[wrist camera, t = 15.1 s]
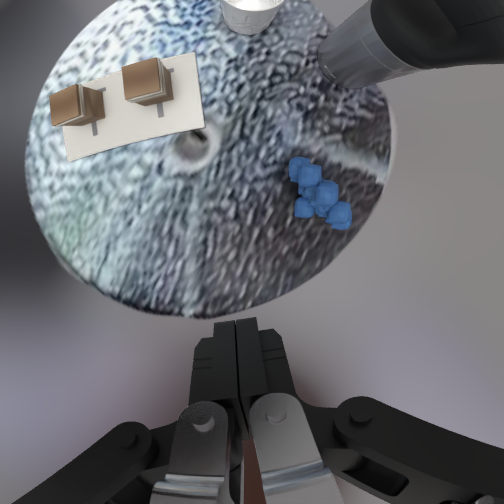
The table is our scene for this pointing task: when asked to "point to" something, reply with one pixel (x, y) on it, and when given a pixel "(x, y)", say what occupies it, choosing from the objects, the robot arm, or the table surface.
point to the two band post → (147, 82)
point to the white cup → (249, 14)
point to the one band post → (76, 106)
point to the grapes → (318, 195)
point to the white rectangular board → (139, 112)
